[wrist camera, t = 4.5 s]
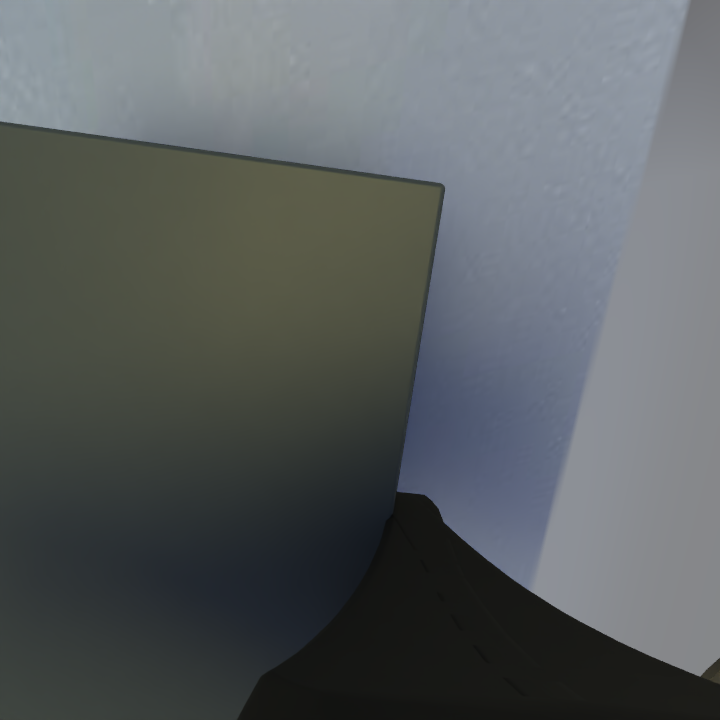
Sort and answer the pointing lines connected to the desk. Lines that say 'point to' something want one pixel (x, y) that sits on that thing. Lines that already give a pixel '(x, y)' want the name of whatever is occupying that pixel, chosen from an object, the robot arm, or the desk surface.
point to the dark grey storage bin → (192, 413)
